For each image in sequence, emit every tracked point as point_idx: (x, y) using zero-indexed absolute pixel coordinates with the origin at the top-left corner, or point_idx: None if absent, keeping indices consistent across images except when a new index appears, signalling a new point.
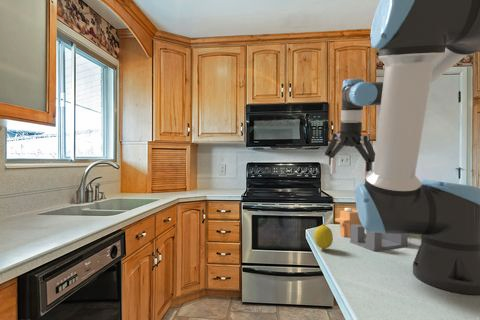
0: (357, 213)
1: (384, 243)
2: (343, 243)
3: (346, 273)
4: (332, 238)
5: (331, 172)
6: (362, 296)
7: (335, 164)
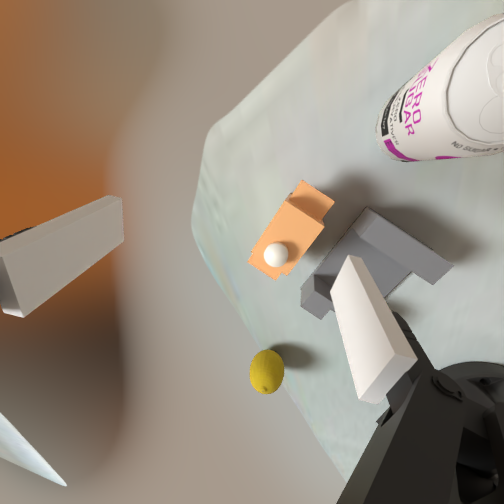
0: (305, 249)
1: (375, 279)
2: (290, 301)
3: (327, 423)
4: (283, 371)
5: (115, 243)
6: (353, 466)
7: (73, 229)
